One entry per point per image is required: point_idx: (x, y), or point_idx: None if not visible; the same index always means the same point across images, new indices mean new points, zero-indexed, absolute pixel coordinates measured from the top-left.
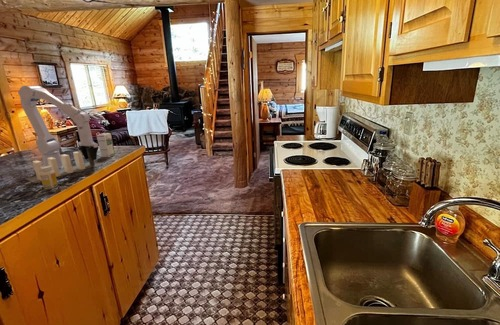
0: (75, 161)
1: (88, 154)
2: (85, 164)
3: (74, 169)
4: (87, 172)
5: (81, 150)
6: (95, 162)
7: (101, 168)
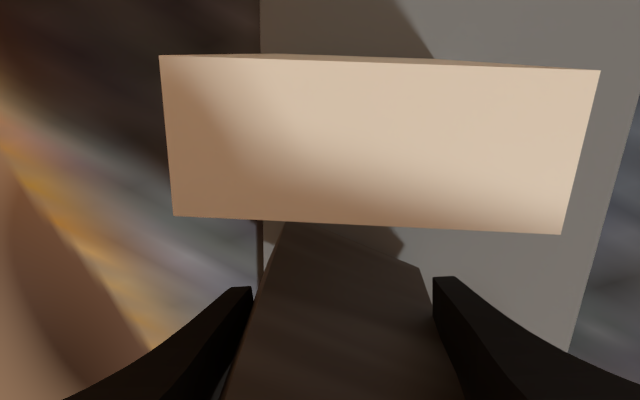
0: (451, 60)
1: (249, 333)
2: (503, 239)
3: (412, 2)
4: (95, 44)
5: (540, 385)
6: None
7: (118, 240)
